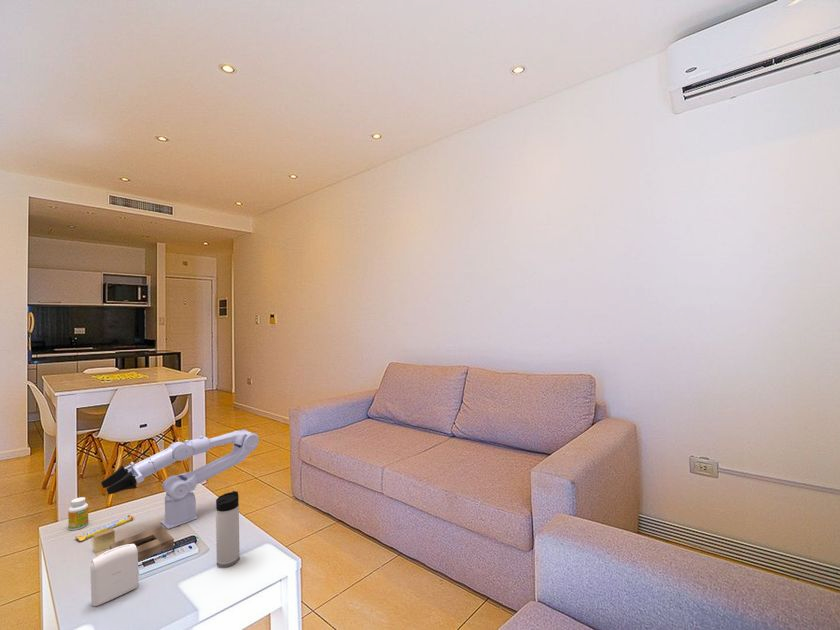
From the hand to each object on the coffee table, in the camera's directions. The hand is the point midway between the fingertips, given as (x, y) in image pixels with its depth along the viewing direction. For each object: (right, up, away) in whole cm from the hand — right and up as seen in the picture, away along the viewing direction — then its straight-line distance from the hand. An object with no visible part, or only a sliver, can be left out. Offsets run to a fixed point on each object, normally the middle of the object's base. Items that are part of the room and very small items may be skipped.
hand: (104, 488), depth 128 cm
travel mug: (+45, -19, -8) cm, 49 cm away
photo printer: (+21, -19, -22) cm, 36 cm away
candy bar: (-9, -20, +11) cm, 24 cm away
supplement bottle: (-20, -20, +13) cm, 31 cm away
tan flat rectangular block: (0, -19, 0) cm, 19 cm away
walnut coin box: (+15, -19, -4) cm, 25 cm away
